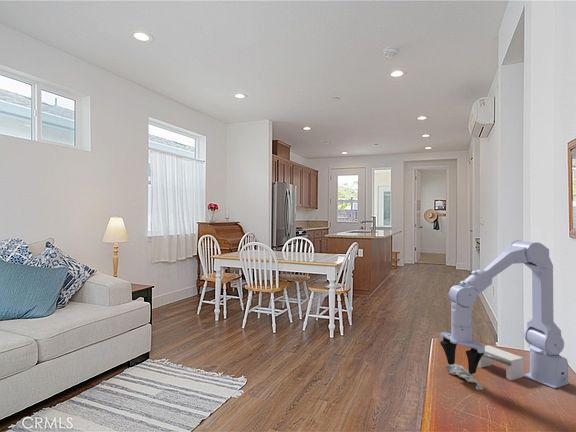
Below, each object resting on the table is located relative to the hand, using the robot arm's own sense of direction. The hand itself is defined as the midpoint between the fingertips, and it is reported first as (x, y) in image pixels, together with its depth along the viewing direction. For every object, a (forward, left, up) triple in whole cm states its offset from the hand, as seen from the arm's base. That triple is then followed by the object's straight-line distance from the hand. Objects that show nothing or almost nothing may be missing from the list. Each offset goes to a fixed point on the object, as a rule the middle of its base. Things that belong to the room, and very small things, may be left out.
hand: (461, 368), depth 115 cm
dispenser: (0, -18, -4) cm, 18 cm away
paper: (+1, -3, -5) cm, 6 cm away
